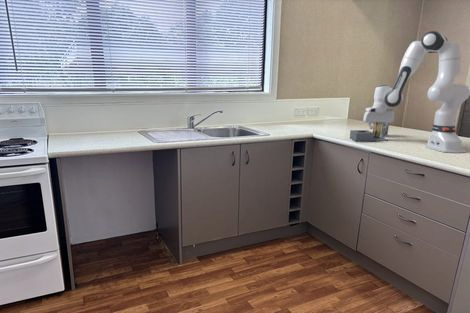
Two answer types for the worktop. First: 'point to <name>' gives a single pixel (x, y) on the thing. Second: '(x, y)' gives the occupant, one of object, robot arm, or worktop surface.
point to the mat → (380, 139)
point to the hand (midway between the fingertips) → (377, 128)
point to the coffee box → (382, 130)
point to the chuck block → (361, 135)
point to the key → (377, 130)
